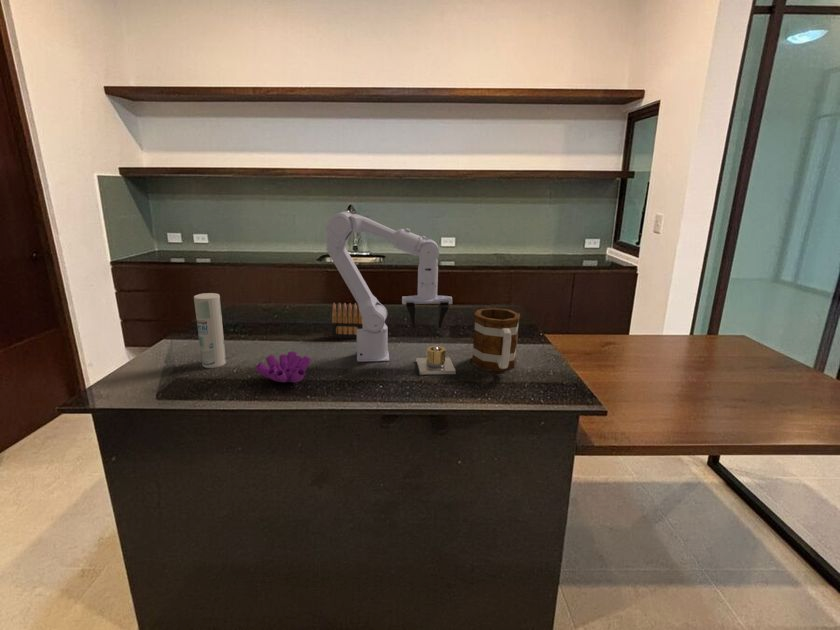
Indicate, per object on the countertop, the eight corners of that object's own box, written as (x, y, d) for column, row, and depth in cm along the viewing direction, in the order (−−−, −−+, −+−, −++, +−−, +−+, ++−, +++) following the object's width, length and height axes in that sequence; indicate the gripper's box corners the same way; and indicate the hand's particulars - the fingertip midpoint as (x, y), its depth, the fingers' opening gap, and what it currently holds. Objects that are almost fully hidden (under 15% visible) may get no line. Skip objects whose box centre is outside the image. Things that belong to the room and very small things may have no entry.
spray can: (231, 362, 135) (224, 295, 130) (211, 369, 130) (203, 299, 124) (216, 357, 138) (209, 291, 133) (196, 364, 133) (188, 296, 127)
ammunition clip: (364, 336, 160) (363, 302, 157) (363, 338, 158) (362, 303, 155) (332, 335, 160) (331, 301, 157) (331, 337, 158) (330, 302, 155)
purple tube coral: (271, 403, 119) (246, 374, 117) (290, 378, 133) (268, 353, 131) (305, 380, 117) (280, 350, 115) (320, 357, 131) (298, 331, 129)
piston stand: (419, 374, 130) (420, 353, 128) (416, 361, 139) (416, 341, 138) (455, 373, 131) (456, 353, 129) (449, 360, 141) (450, 341, 139)
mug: (467, 354, 146) (470, 307, 142) (510, 353, 147) (514, 307, 143) (480, 380, 127) (483, 327, 123) (528, 380, 128) (533, 327, 124)
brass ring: (427, 364, 132) (428, 352, 131) (425, 357, 137) (425, 345, 136) (446, 363, 132) (446, 352, 131) (443, 356, 137) (443, 345, 136)
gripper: (403, 285, 130) (402, 331, 134) (455, 285, 132) (452, 331, 136) (401, 280, 137) (401, 324, 141) (450, 280, 139) (448, 323, 143)
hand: (426, 327), depth 139 cm, fingers open, 7 cm apart
